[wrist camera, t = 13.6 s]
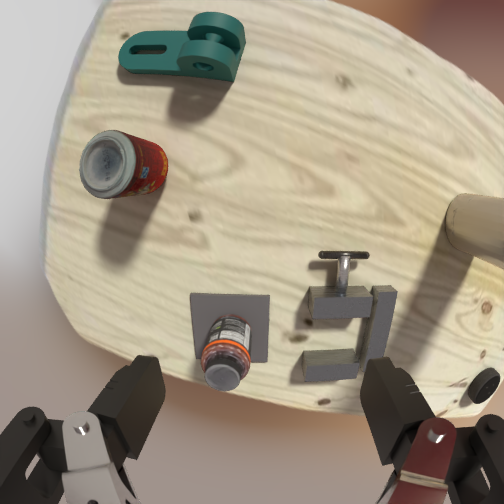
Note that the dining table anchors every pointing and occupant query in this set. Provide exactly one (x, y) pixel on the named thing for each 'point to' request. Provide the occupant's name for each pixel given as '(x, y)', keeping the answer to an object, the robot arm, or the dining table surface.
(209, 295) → the mat
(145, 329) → the dining table surface
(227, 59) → the bracket
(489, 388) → the smart speaker
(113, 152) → the soda can
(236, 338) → the supplement bottle
